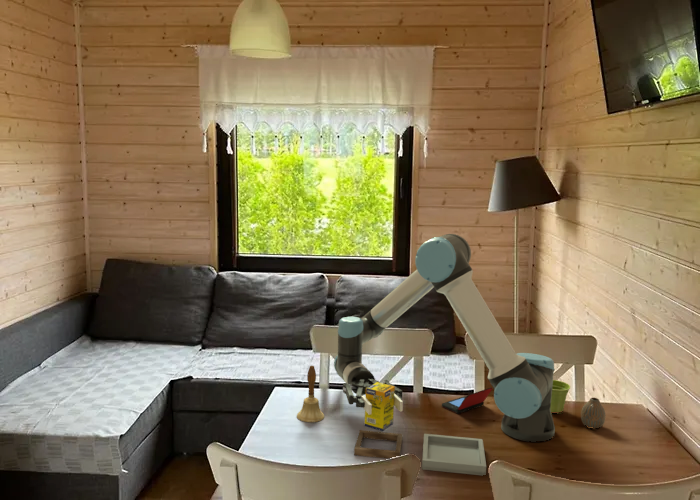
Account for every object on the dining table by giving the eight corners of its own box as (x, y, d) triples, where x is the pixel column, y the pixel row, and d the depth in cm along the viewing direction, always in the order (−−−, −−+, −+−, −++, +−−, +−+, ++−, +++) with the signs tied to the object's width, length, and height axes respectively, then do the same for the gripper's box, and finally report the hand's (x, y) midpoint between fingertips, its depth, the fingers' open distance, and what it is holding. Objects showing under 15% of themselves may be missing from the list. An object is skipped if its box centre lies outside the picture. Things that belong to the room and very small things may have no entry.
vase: (606, 432, 197) (609, 404, 195) (581, 429, 198) (584, 401, 197) (602, 423, 203) (605, 396, 202) (578, 420, 205) (581, 393, 203)
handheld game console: (466, 398, 220) (467, 377, 219) (492, 409, 211) (493, 387, 210) (439, 406, 212) (441, 384, 211) (465, 418, 204) (467, 395, 202)
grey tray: (481, 447, 184) (482, 439, 183) (485, 475, 168) (486, 466, 167) (423, 442, 186) (424, 433, 185) (421, 469, 170) (422, 460, 170)
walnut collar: (402, 440, 186) (402, 433, 186) (399, 459, 175) (399, 453, 174) (359, 435, 188) (359, 429, 188) (354, 455, 176) (354, 448, 176)
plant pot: (535, 413, 209) (537, 386, 208) (539, 402, 218) (541, 377, 217) (566, 418, 206) (569, 392, 204) (569, 408, 214) (571, 382, 213)
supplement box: (383, 432, 176) (384, 392, 175) (363, 426, 179) (365, 387, 178) (393, 424, 181) (395, 386, 180) (374, 419, 184) (376, 381, 183)
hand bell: (325, 422, 196) (327, 370, 194) (297, 422, 195) (299, 370, 193) (322, 411, 204) (324, 361, 202) (295, 411, 203) (297, 361, 201)
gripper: (391, 388, 200) (421, 417, 178) (324, 394, 194) (347, 425, 172) (392, 364, 199) (423, 391, 177) (325, 369, 193) (348, 397, 171)
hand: (385, 408), depth 175 cm, fingers closed on supplement box, 8 cm apart
